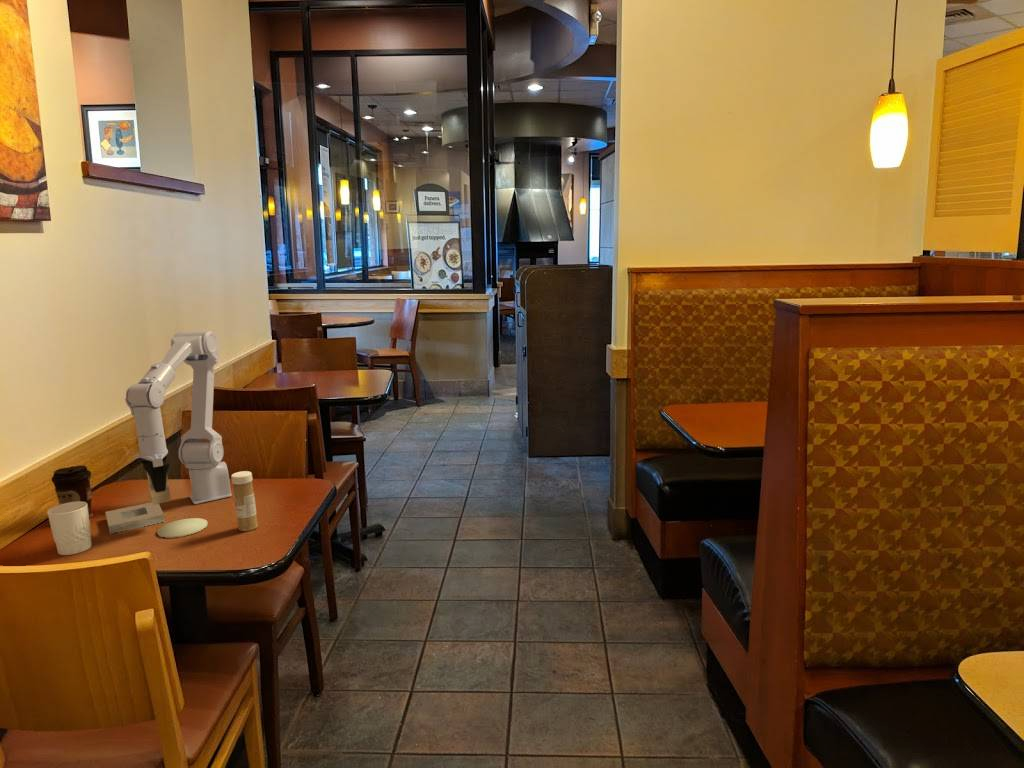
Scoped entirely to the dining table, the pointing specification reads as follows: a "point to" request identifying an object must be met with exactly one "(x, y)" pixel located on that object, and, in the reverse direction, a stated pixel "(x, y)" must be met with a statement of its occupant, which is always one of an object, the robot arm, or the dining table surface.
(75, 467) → the coffee cup
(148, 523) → the socket block
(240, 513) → the sprinkles bottle
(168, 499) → the square peg
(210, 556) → the dining table surface
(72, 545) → the white cup
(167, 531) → the mat
